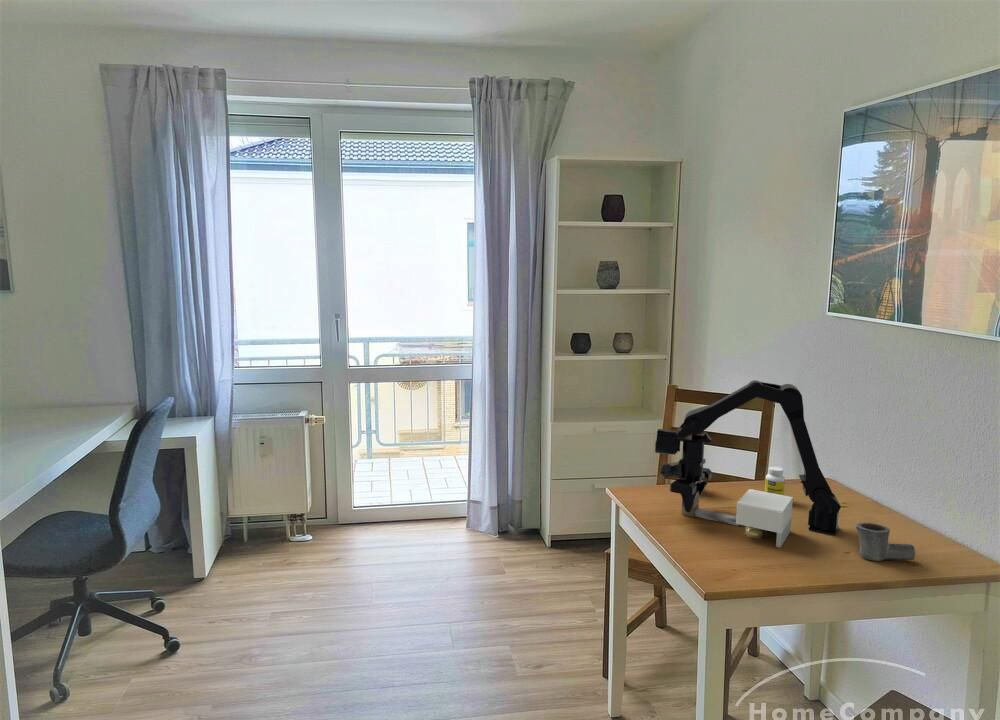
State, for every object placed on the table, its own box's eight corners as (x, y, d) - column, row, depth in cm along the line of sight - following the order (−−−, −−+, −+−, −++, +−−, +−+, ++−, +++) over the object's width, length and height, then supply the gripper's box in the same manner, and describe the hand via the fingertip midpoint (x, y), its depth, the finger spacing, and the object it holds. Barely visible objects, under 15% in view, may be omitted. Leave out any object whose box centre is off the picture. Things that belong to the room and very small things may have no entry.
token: (764, 534, 173) (764, 528, 173) (760, 540, 169) (760, 533, 169) (746, 530, 175) (747, 524, 175) (742, 536, 172) (743, 529, 171)
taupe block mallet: (741, 522, 181) (743, 501, 180) (737, 526, 177) (739, 505, 176) (686, 510, 189) (687, 490, 188) (681, 514, 186) (682, 494, 185)
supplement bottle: (764, 501, 197) (766, 469, 195) (764, 495, 202) (766, 464, 200) (783, 504, 195) (786, 472, 193) (783, 498, 200) (785, 467, 198)
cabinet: (790, 531, 174) (792, 497, 173) (779, 548, 164) (782, 511, 163) (747, 522, 180) (749, 488, 179) (734, 537, 170) (736, 502, 169)
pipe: (916, 567, 154) (920, 534, 153) (857, 562, 157) (860, 530, 156) (906, 556, 160) (909, 524, 159) (849, 551, 163) (852, 520, 162)
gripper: (676, 444, 196) (673, 494, 199) (652, 459, 181) (650, 513, 183) (713, 450, 190) (711, 502, 192) (693, 466, 175) (690, 522, 177)
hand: (690, 509), depth 186 cm, fingers closed on taupe block mallet, 4 cm apart
